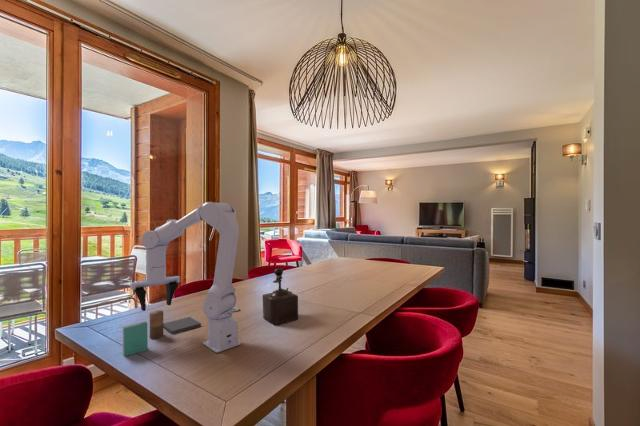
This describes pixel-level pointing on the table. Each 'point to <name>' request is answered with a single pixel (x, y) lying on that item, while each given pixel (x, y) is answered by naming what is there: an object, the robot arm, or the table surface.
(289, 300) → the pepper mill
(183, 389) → the table surface
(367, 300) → the table surface
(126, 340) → the tile
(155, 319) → the peg
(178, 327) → the mat
